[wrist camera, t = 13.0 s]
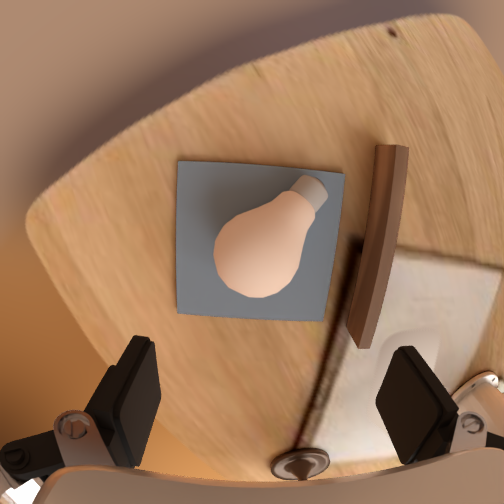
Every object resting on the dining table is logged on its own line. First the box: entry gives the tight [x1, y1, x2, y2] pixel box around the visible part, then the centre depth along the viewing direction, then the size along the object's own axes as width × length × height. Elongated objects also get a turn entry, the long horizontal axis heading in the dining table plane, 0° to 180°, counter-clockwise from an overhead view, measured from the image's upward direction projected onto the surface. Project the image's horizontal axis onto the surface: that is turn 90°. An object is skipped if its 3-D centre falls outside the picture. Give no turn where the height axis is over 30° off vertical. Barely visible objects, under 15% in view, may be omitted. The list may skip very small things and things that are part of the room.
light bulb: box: [213, 175, 328, 298], centre depth 23 cm, size 7×7×11 cm
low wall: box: [346, 145, 409, 349], centre depth 25 cm, size 1×18×4 cm, turn 176°
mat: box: [176, 161, 345, 321], centre depth 26 cm, size 14×14×1 cm
